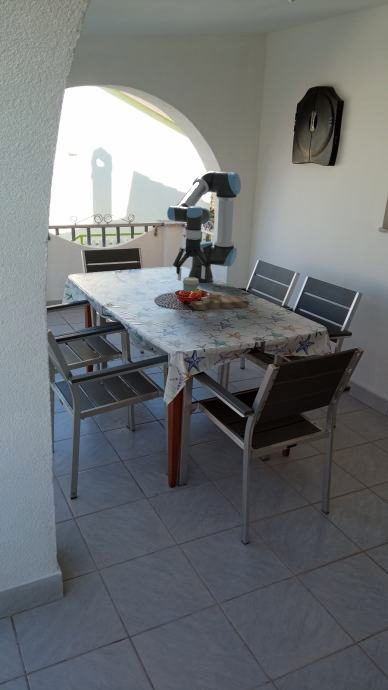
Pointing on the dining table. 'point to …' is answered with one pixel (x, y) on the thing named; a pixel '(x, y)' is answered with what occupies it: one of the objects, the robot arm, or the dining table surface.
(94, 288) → the dining table surface
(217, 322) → the dining table surface
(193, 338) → the dining table surface
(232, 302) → the board
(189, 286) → the coffee cup
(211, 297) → the gauge
